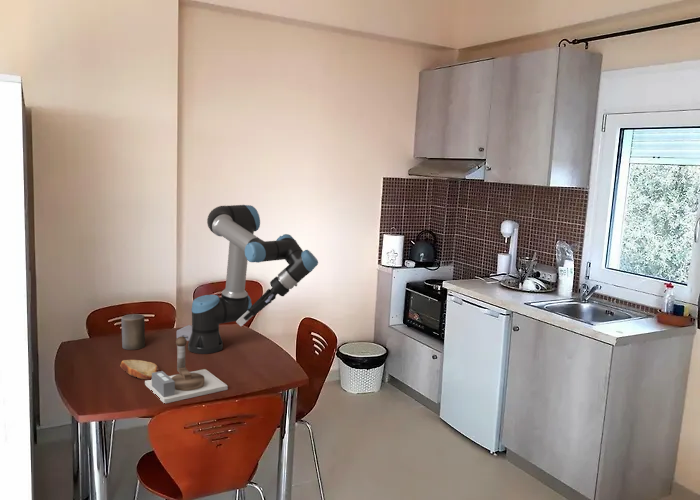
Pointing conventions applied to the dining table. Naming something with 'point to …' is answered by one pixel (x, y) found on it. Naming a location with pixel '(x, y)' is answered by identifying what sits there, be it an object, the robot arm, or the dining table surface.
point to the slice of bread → (139, 368)
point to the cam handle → (185, 370)
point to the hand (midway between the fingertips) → (238, 323)
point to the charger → (185, 332)
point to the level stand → (168, 393)
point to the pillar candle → (133, 331)
